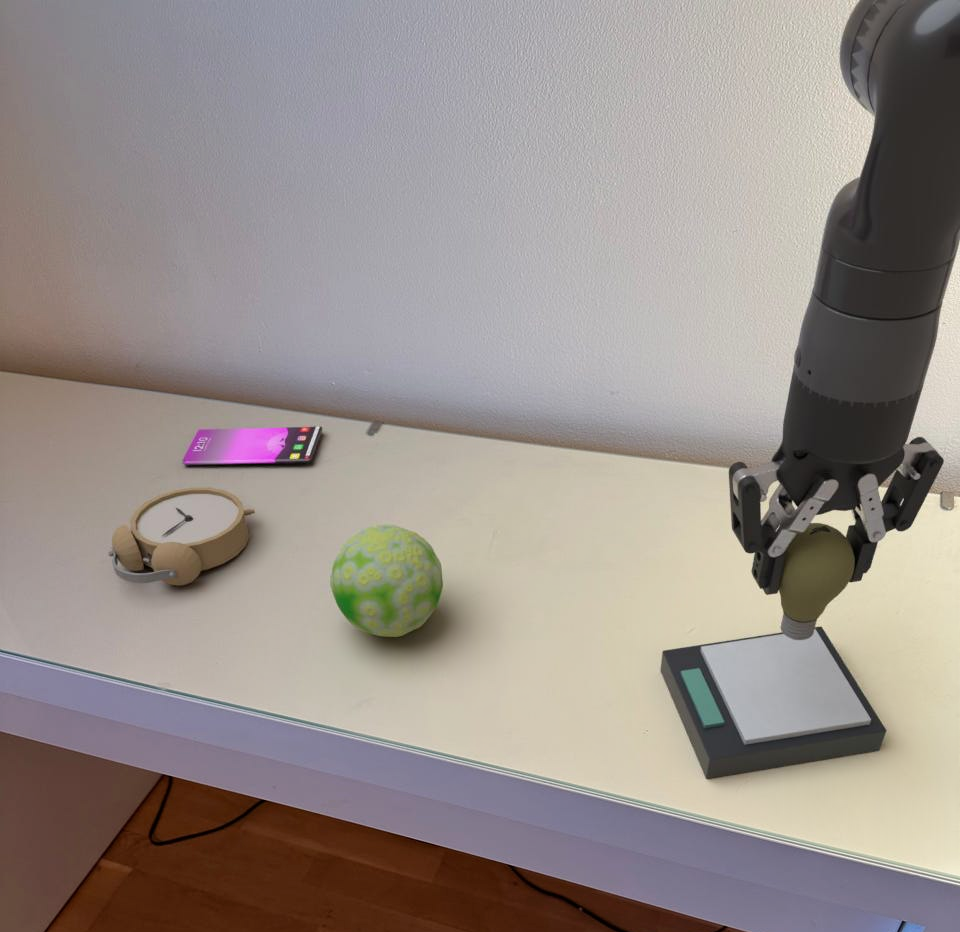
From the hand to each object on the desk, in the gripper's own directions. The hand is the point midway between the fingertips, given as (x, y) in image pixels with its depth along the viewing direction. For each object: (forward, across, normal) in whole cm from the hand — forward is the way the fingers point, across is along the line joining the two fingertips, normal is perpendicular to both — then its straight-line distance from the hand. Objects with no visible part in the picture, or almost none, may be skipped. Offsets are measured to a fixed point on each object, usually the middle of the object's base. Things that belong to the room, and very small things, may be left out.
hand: (808, 580), depth 69 cm
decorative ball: (+14, -30, +17) cm, 37 cm away
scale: (+14, -1, 0) cm, 14 cm away
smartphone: (+14, -43, +50) cm, 67 cm away
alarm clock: (+14, -50, +32) cm, 61 cm away
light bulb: (+6, 0, 0) cm, 6 cm away
